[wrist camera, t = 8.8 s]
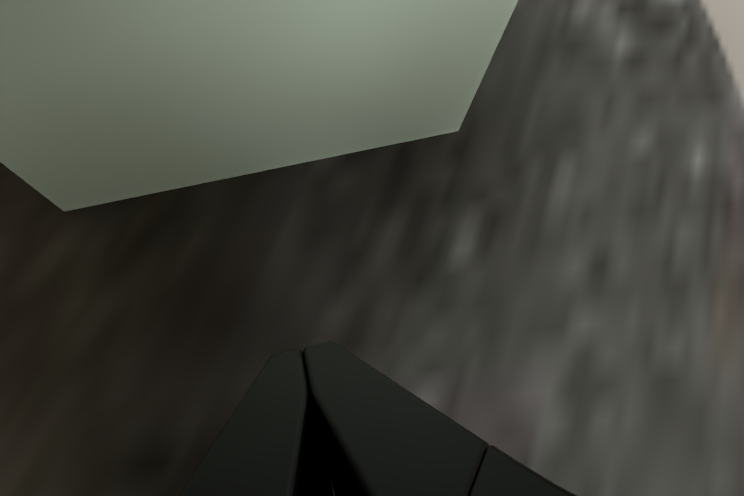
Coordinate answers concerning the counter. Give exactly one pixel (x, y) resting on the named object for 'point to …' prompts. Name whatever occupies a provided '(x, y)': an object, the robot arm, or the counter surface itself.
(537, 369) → the counter surface
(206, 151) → the block
